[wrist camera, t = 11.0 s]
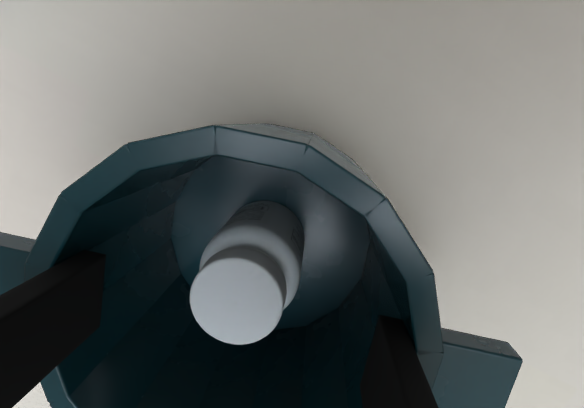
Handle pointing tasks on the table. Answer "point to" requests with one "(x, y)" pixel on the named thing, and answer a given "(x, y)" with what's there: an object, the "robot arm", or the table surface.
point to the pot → (185, 266)
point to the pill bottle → (249, 273)
